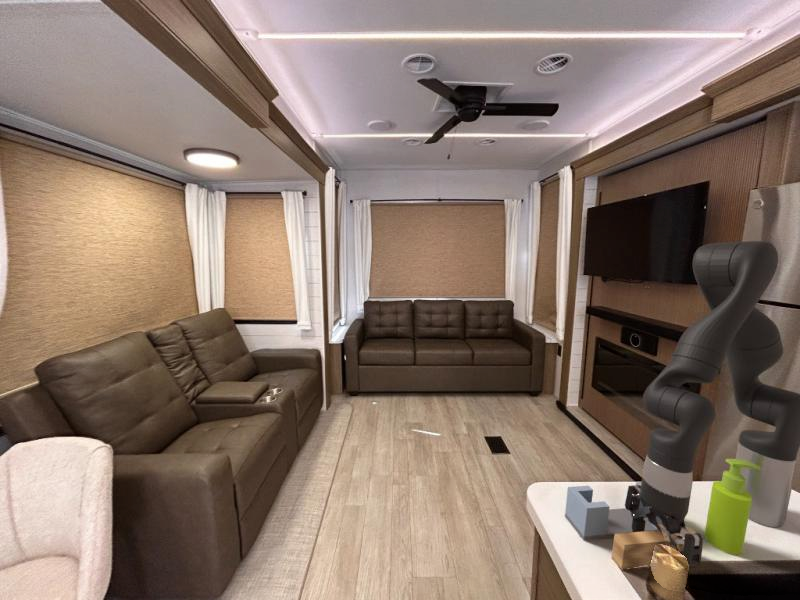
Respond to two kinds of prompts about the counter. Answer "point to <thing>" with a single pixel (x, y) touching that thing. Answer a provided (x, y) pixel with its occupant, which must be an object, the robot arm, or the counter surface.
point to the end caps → (597, 515)
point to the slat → (637, 547)
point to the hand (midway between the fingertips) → (655, 552)
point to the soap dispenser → (729, 509)
